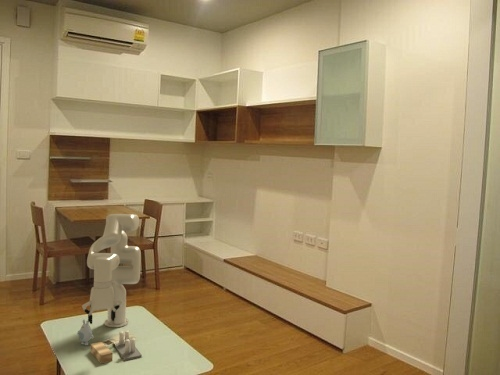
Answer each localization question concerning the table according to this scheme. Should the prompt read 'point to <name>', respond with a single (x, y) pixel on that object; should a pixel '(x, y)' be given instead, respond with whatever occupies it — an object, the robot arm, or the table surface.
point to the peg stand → (127, 347)
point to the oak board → (101, 352)
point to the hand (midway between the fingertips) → (101, 321)
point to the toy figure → (85, 333)
